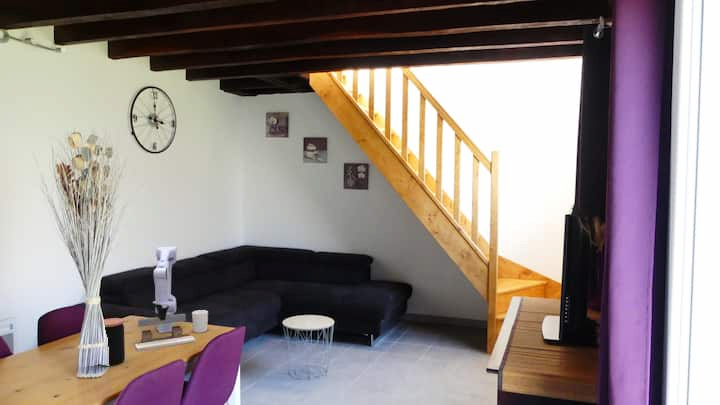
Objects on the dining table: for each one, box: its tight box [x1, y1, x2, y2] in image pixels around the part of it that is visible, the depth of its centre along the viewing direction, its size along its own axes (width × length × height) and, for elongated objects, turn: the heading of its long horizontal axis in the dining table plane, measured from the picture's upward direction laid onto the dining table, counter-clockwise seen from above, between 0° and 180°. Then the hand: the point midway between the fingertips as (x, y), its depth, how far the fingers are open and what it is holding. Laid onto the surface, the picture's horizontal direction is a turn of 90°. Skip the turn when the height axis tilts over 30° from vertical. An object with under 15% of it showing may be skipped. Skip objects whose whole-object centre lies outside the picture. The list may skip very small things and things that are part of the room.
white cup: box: [191, 309, 209, 334], centre depth 275 cm, size 8×8×10 cm
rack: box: [140, 324, 184, 344], centre depth 260 cm, size 6×19×5 cm, turn 121°
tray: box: [134, 335, 196, 352], centre depth 253 cm, size 7×26×1 cm, turn 121°
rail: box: [136, 313, 187, 328], centre depth 259 cm, size 3×22×3 cm, turn 121°
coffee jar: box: [103, 317, 126, 367], centre depth 228 cm, size 11×11×18 cm
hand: (162, 319), depth 259 cm, fingers closed on rail, 3 cm apart
